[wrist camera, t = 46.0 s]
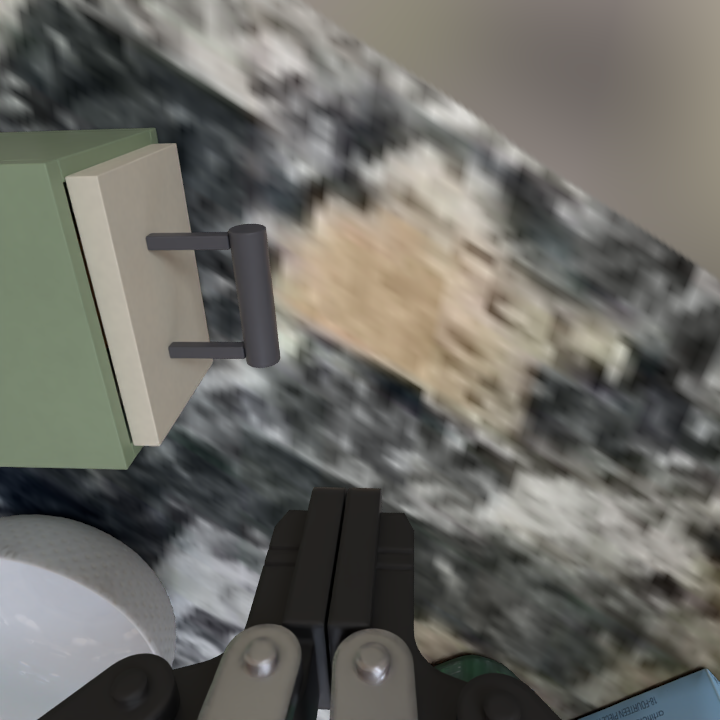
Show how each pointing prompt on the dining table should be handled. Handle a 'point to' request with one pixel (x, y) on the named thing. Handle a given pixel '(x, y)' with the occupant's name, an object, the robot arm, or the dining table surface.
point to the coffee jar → (472, 667)
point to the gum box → (670, 701)
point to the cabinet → (54, 309)
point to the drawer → (163, 285)
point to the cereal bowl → (71, 610)
